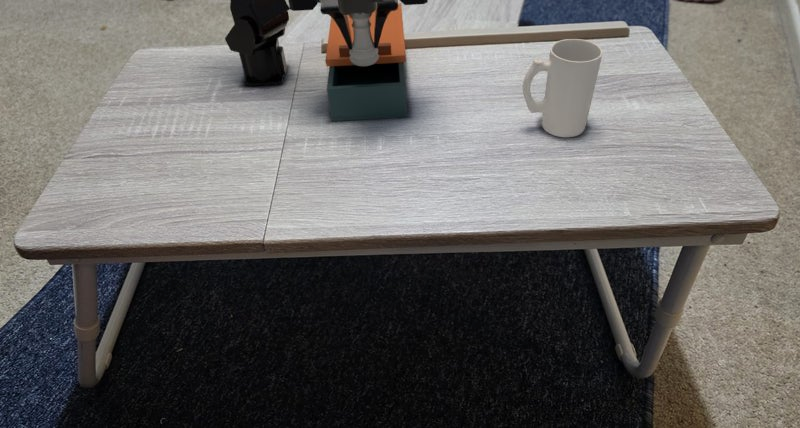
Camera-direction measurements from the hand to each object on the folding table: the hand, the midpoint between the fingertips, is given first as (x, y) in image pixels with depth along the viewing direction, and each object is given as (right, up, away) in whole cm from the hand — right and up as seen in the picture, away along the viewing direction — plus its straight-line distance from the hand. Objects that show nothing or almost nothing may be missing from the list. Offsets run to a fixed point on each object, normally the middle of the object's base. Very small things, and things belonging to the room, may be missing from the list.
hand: (363, 47), depth 85 cm
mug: (+28, -12, 0) cm, 30 cm away
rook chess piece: (0, -2, +1) cm, 2 cm away
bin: (0, -4, +10) cm, 11 cm away
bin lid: (0, +5, +12) cm, 13 cm away
